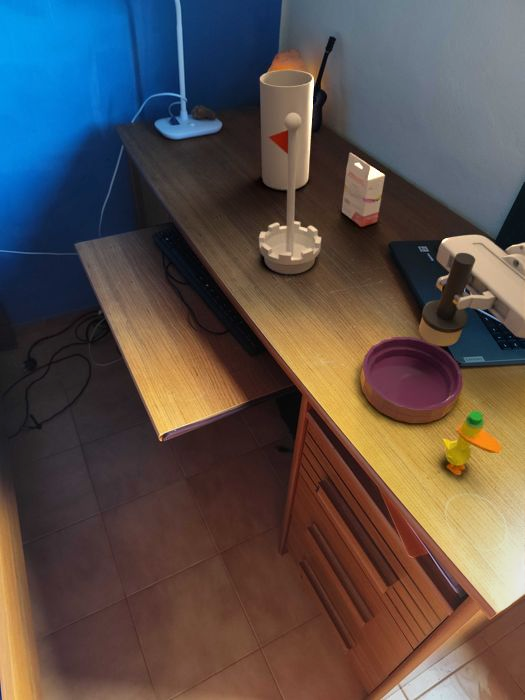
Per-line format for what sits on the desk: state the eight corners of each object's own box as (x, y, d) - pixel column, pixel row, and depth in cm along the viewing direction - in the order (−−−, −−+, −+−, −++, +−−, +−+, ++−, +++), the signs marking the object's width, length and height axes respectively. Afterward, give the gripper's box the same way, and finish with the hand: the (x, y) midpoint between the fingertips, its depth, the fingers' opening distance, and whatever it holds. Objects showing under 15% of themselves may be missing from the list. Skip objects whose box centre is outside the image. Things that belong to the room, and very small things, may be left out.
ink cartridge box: (378, 222, 111) (389, 161, 100) (361, 228, 109) (370, 167, 98) (357, 206, 116) (365, 147, 105) (340, 211, 114) (347, 152, 104)
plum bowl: (475, 409, 73) (483, 393, 70) (389, 437, 70) (394, 421, 67) (421, 343, 83) (427, 327, 80) (344, 366, 80) (346, 349, 77)
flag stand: (330, 253, 102) (344, 108, 81) (299, 284, 95) (306, 134, 73) (280, 235, 108) (281, 95, 86) (247, 264, 100) (240, 118, 79)
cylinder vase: (294, 196, 120) (297, 90, 102) (253, 184, 125) (249, 81, 107) (316, 176, 127) (322, 74, 109) (277, 166, 132) (277, 67, 114)
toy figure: (484, 474, 65) (516, 425, 56) (473, 492, 63) (504, 444, 55) (440, 446, 68) (464, 396, 60) (428, 463, 66) (451, 413, 58)
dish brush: (469, 341, 70) (501, 266, 60) (432, 351, 69) (459, 277, 59) (444, 314, 74) (470, 240, 64) (409, 323, 73) (430, 250, 63)
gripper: (489, 218, 73) (412, 236, 70) (592, 297, 60) (503, 323, 57) (477, 252, 78) (404, 270, 75) (570, 332, 64) (486, 358, 61)
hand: (447, 293), depth 66 cm, fingers closed on dish brush, 2 cm apart
